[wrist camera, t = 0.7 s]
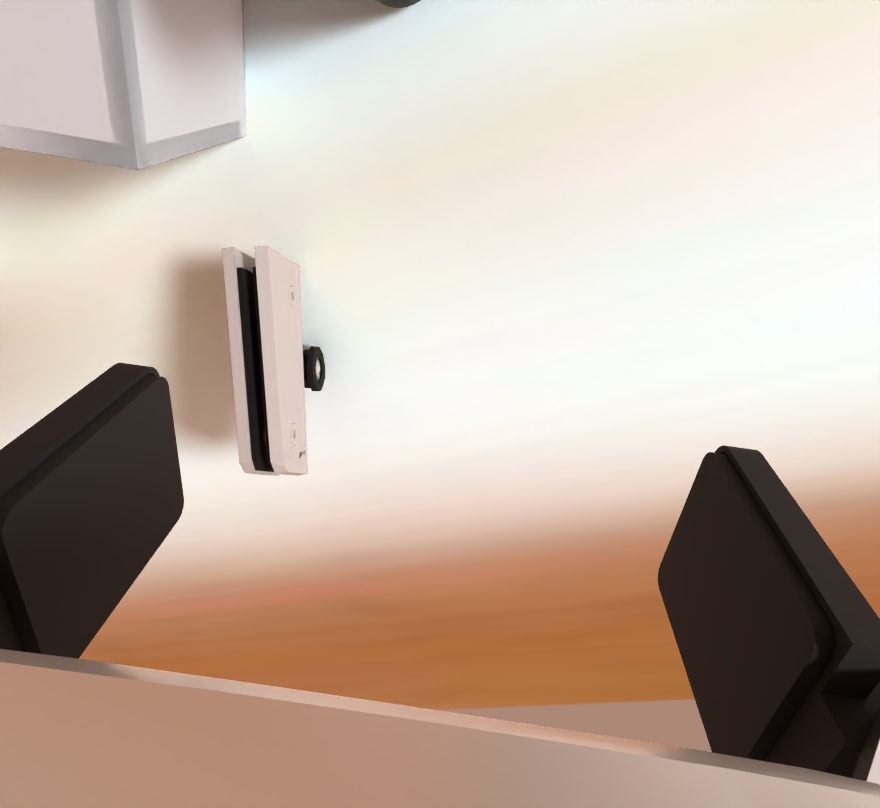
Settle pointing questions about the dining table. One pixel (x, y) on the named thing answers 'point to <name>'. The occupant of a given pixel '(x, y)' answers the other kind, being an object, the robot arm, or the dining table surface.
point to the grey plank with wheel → (269, 361)
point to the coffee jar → (398, 3)
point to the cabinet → (121, 78)
